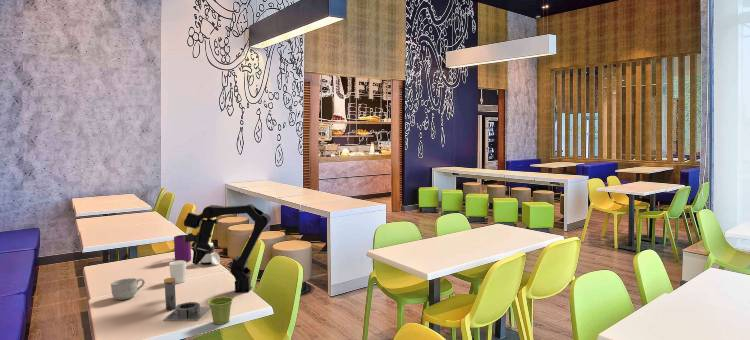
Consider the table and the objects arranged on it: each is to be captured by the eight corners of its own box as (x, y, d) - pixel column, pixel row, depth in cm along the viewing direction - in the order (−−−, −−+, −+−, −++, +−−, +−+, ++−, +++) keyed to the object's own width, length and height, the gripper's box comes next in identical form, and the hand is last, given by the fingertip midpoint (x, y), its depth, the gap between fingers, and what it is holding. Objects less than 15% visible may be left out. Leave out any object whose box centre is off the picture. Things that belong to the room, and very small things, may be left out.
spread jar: (203, 261, 280) (202, 242, 279) (222, 260, 281) (221, 241, 280) (197, 267, 268) (196, 246, 267) (218, 266, 269) (217, 246, 268)
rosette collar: (210, 307, 204) (210, 300, 203) (197, 320, 190) (197, 312, 189) (178, 307, 204) (178, 300, 204) (163, 320, 190) (162, 312, 190)
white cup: (180, 284, 237) (179, 264, 236) (166, 283, 239) (165, 264, 238) (189, 279, 245) (189, 260, 244) (176, 278, 246) (175, 260, 246)
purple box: (176, 264, 275) (175, 238, 274) (171, 258, 288) (170, 234, 287) (193, 261, 280) (192, 236, 279) (186, 256, 293) (185, 232, 292)
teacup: (111, 303, 211) (110, 285, 211) (112, 296, 221) (111, 279, 220) (145, 298, 218) (144, 281, 217) (145, 291, 227) (144, 275, 227)
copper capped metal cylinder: (178, 307, 205) (176, 277, 204) (173, 310, 201) (172, 280, 200) (168, 307, 206) (166, 277, 205) (163, 310, 201) (162, 280, 200)
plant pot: (206, 320, 190) (205, 299, 190) (230, 315, 195) (229, 295, 194) (211, 328, 182) (210, 306, 181) (236, 323, 187) (235, 301, 186)
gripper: (186, 227, 228) (175, 259, 224) (190, 226, 212) (178, 260, 208) (209, 233, 233) (198, 264, 229) (215, 233, 216) (204, 266, 212)
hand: (194, 264), depth 219 cm, fingers open, 9 cm apart
